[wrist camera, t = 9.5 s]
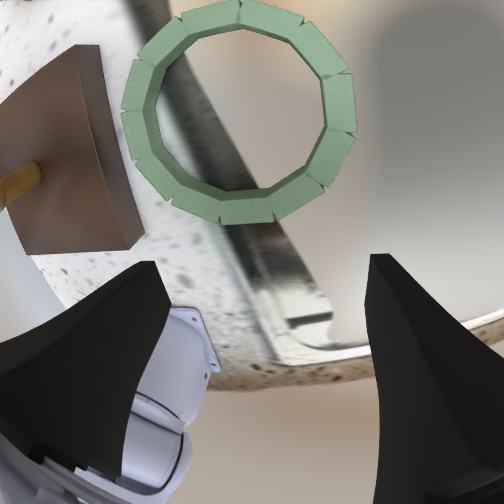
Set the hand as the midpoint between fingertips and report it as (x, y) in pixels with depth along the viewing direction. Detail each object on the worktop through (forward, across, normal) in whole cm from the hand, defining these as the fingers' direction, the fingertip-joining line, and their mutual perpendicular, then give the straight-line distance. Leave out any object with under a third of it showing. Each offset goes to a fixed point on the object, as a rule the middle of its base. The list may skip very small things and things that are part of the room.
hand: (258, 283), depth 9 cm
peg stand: (+9, +18, -5) cm, 21 cm away
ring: (+9, +2, -5) cm, 11 cm away
